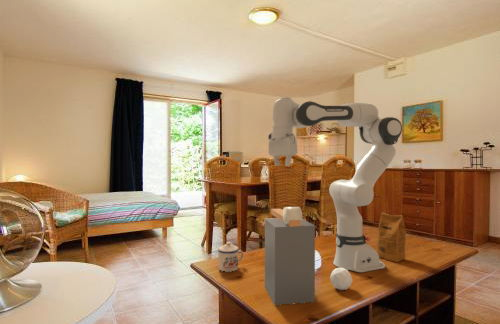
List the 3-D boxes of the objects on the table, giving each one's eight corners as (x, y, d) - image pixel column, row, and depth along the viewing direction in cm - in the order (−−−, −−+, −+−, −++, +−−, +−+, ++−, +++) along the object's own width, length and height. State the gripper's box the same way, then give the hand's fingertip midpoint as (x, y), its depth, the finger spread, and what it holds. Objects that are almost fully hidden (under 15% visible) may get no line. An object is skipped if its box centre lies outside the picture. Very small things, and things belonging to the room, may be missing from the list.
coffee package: (385, 253, 150) (385, 210, 150) (408, 260, 140) (409, 214, 140) (373, 256, 145) (373, 212, 145) (396, 263, 134) (397, 216, 134)
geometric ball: (335, 294, 109) (325, 273, 113) (354, 286, 110) (343, 266, 114) (338, 292, 103) (327, 270, 107) (358, 284, 103) (347, 262, 107)
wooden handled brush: (281, 213, 120) (281, 198, 120) (302, 226, 97) (302, 208, 97) (269, 213, 119) (269, 199, 119) (288, 226, 96) (288, 208, 96)
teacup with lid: (222, 274, 122) (222, 246, 122) (215, 267, 130) (215, 241, 130) (247, 269, 127) (248, 242, 127) (239, 262, 135) (239, 237, 135)
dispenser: (299, 284, 112) (299, 217, 112) (314, 302, 98) (314, 225, 98) (264, 286, 109) (264, 218, 109) (274, 305, 95) (275, 227, 95)
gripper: (301, 133, 119) (300, 166, 119) (278, 136, 138) (277, 165, 138) (287, 132, 117) (287, 166, 117) (266, 136, 136) (265, 165, 136)
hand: (282, 165), depth 128 cm, fingers open, 8 cm apart
